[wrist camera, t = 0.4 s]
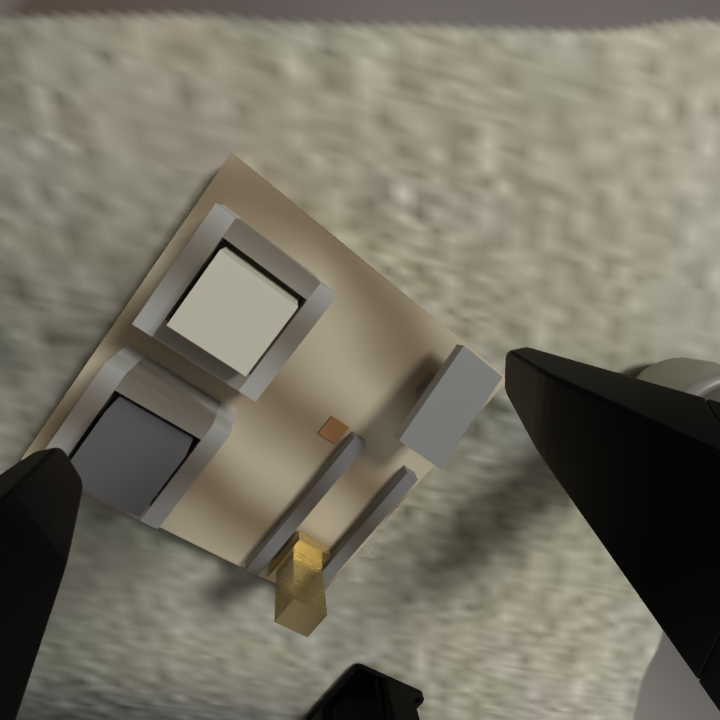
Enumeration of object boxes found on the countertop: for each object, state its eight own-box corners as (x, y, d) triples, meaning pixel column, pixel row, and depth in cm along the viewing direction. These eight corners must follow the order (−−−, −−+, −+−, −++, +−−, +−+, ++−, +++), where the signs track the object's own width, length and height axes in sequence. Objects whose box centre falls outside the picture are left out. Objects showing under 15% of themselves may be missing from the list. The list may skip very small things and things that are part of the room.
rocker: (434, 463, 23) (440, 468, 22) (393, 436, 22) (398, 440, 21) (494, 374, 23) (502, 377, 22) (456, 344, 22) (463, 345, 22)
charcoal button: (152, 490, 21) (139, 517, 19) (80, 453, 20) (58, 477, 18) (194, 434, 21) (185, 456, 19) (123, 392, 19) (105, 411, 18)
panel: (312, 583, 29) (316, 642, 25) (37, 444, 23) (-15, 490, 19) (496, 370, 26) (534, 397, 22) (235, 156, 20) (222, 141, 17)
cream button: (249, 361, 20) (245, 376, 18) (178, 314, 19) (166, 325, 17) (297, 298, 19) (298, 307, 18) (226, 247, 18) (219, 249, 16)
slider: (298, 582, 26) (300, 647, 22) (267, 567, 25) (264, 630, 22) (329, 546, 26) (337, 606, 22) (299, 530, 25) (301, 588, 21)
